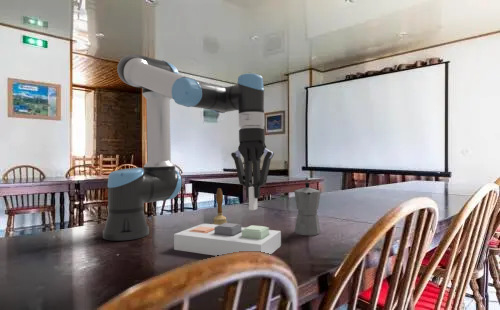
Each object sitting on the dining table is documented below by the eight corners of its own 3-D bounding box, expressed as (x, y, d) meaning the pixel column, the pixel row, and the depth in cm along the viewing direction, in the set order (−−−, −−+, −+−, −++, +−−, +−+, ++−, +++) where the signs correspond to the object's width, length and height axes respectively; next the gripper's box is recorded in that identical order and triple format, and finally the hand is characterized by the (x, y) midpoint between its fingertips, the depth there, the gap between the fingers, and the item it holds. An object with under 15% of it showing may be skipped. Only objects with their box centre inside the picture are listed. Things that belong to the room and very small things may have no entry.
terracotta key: (189, 240, 98) (189, 229, 98) (200, 235, 103) (200, 225, 103) (206, 242, 96) (205, 231, 96) (216, 237, 101) (216, 227, 101)
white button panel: (174, 249, 94) (173, 234, 94) (203, 236, 109) (203, 223, 109) (261, 262, 83) (261, 244, 83) (280, 246, 97) (280, 231, 97)
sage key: (241, 240, 91) (241, 228, 91) (250, 235, 96) (250, 224, 96) (261, 242, 88) (261, 230, 88) (268, 237, 94) (268, 226, 94)
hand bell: (228, 235, 110) (227, 189, 110) (205, 234, 112) (205, 189, 112) (233, 230, 119) (233, 187, 119) (212, 229, 120) (212, 187, 120)
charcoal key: (214, 237, 94) (214, 226, 94) (224, 232, 100) (224, 222, 100) (232, 239, 92) (232, 227, 92) (241, 234, 97) (241, 223, 97)
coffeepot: (323, 237, 107) (323, 184, 107) (295, 236, 108) (295, 184, 108) (318, 227, 122) (317, 180, 122) (293, 226, 123) (293, 180, 123)
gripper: (225, 128, 92) (227, 210, 91) (267, 125, 86) (269, 212, 86) (237, 130, 98) (239, 206, 98) (277, 127, 93) (278, 208, 93)
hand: (253, 209), depth 92 cm, fingers closed
